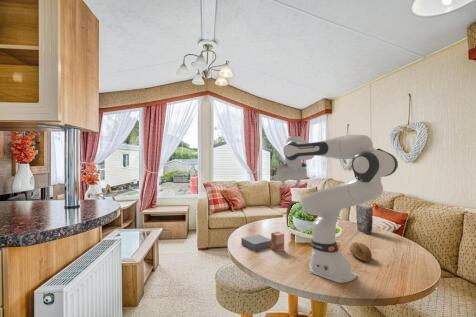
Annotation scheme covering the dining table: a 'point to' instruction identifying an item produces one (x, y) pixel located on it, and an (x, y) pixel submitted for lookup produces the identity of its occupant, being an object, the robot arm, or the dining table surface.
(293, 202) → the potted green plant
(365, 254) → the bread roll
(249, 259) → the dining table surface
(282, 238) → the terracotta block
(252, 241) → the base block
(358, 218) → the stone block
